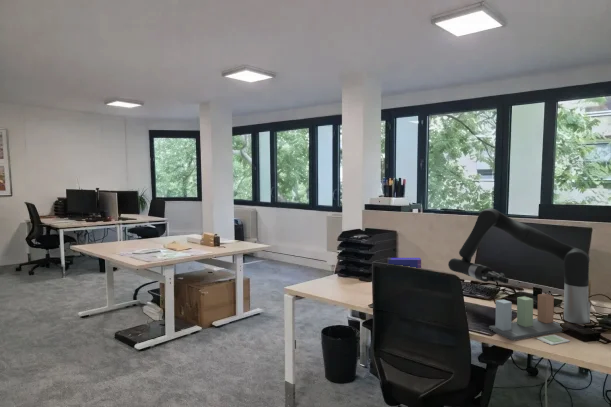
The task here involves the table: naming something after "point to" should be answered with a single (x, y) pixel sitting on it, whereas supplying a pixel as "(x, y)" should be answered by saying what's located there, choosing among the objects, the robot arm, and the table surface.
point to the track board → (528, 330)
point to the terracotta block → (545, 308)
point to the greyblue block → (503, 314)
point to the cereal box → (405, 262)
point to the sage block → (525, 311)
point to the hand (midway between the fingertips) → (507, 280)
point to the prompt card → (553, 339)
